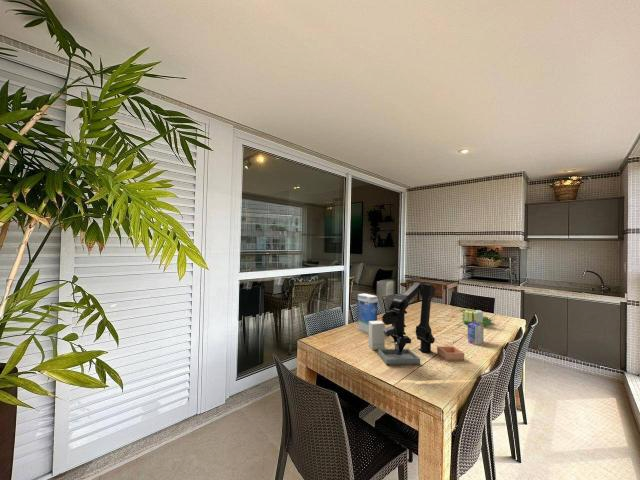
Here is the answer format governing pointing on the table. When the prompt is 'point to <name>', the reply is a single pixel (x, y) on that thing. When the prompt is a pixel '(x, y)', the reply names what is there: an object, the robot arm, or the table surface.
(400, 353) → the battery cell
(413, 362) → the tray
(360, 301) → the blue white lidded canister
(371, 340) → the skincare box
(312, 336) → the table surface
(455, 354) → the bin
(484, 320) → the toy landscape diorama
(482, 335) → the ink cartridge box
